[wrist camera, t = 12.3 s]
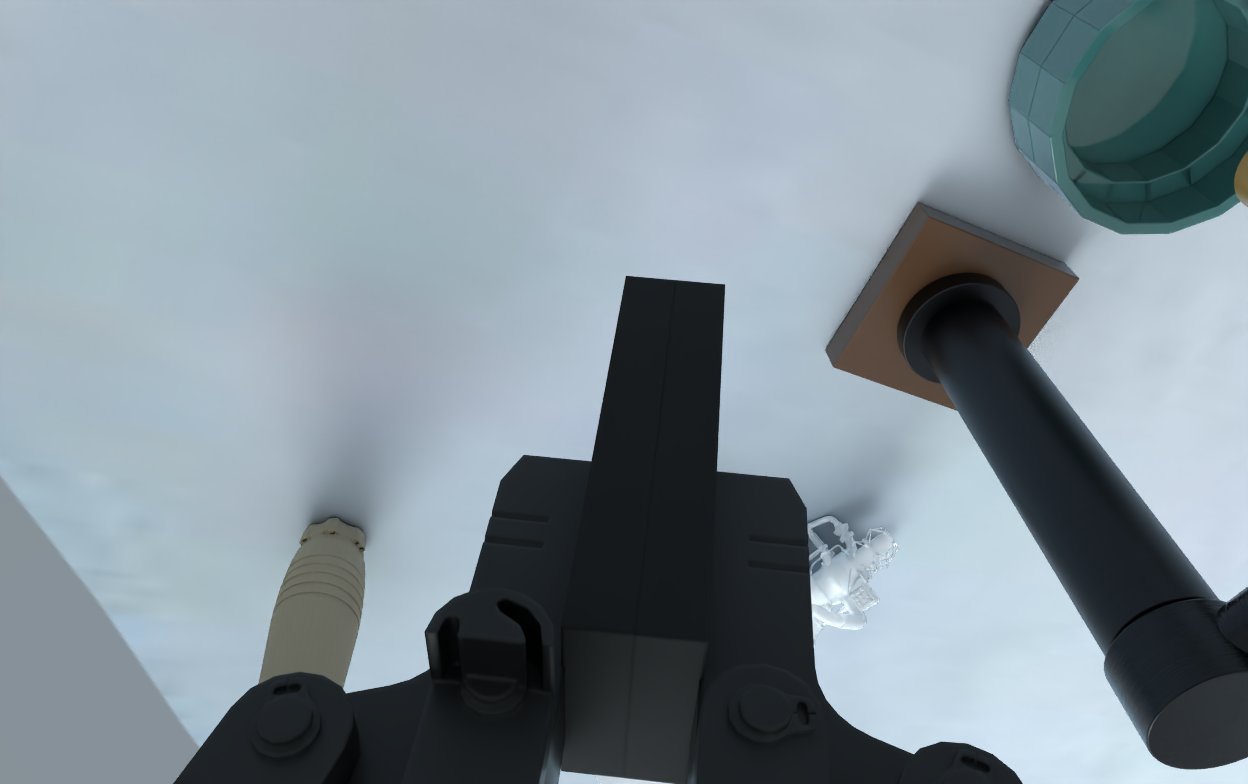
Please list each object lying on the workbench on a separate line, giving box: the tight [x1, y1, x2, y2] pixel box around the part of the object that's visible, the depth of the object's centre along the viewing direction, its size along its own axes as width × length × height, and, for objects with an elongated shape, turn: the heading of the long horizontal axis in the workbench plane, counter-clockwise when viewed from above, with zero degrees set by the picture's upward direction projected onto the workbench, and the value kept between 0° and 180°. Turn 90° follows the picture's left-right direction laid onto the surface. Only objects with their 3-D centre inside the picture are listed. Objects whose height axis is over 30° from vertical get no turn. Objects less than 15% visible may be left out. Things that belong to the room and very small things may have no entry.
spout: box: [1104, 151, 1248, 769], centre depth 31 cm, size 16×4×14 cm, turn 147°
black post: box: [826, 203, 1219, 657], centre depth 38 cm, size 8×8×20 cm
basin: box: [1009, 0, 1248, 234], centre depth 39 cm, size 10×10×4 cm
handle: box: [259, 518, 365, 688], centre depth 45 cm, size 5×6×15 cm
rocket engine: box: [595, 516, 899, 784], centre depth 53 cm, size 12×12×18 cm
